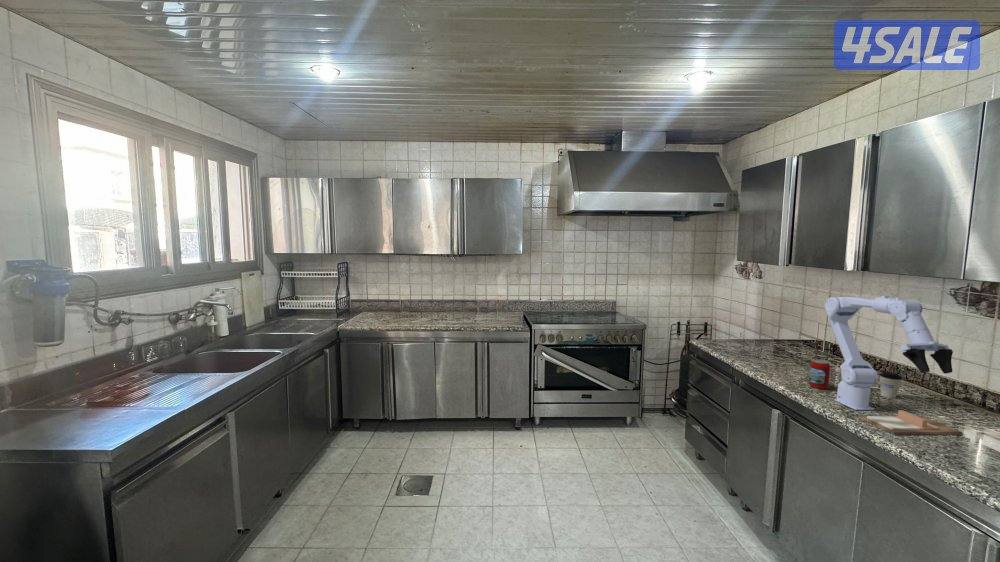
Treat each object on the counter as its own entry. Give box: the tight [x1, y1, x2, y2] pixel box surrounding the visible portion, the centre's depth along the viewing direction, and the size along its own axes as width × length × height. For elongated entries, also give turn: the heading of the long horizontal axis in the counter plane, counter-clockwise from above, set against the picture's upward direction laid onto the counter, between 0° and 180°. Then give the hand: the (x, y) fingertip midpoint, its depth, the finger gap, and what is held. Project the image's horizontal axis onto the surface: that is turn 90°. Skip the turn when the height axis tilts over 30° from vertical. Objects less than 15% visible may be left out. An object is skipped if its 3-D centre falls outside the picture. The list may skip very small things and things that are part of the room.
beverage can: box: [808, 359, 831, 390], centre depth 175 cm, size 7×7×12 cm
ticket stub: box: [895, 409, 940, 430], centre depth 138 cm, size 9×6×3 cm, turn 2°
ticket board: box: [859, 415, 963, 436], centre depth 138 cm, size 12×24×2 cm, turn 92°
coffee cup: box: [879, 371, 903, 399], centre depth 165 cm, size 7×7×10 cm
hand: (937, 372), depth 126 cm, fingers open, 7 cm apart
